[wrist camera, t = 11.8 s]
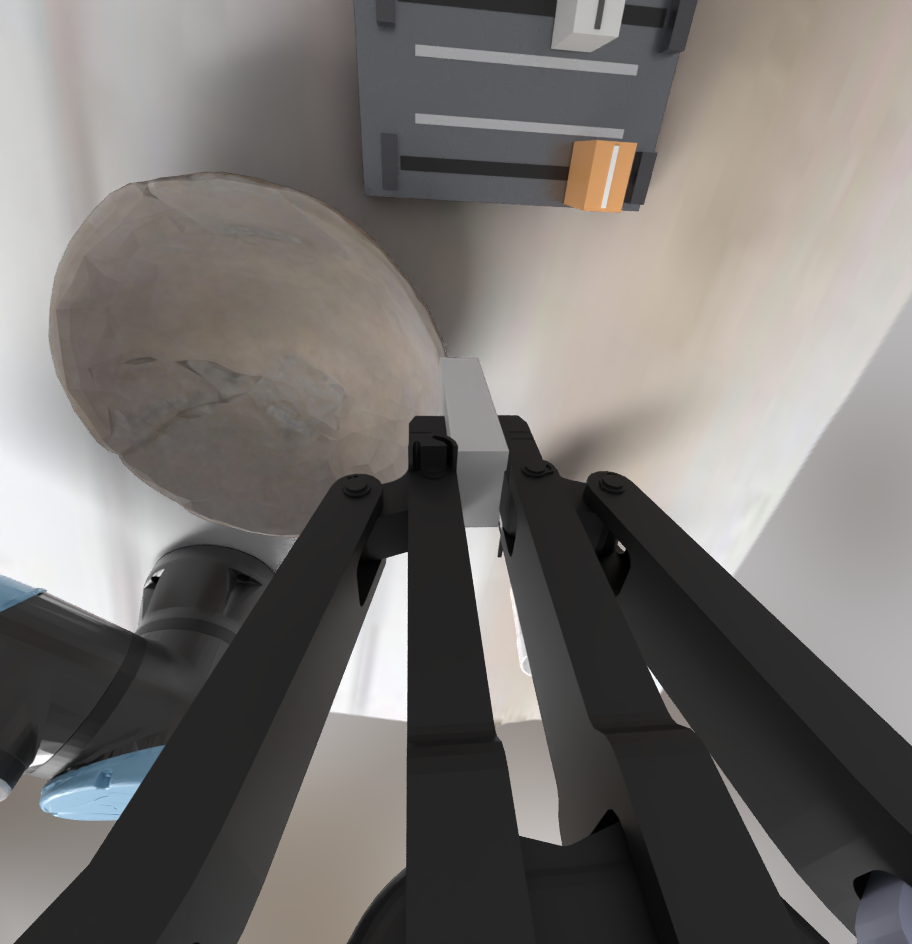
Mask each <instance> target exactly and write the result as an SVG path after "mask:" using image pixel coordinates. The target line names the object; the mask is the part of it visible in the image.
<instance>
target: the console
mask: <svg viewBox="0 0 912 944" xmlns="http://www.w3.org/2000/svg"><path fill="white" fill-rule="evenodd" d="M696 3H697V0H625V5H624V10H623V15H622V21H621V26H620V31H619V36H618V37H617V38H615V39H614V40H612V41H610V42H608V43H607V44H605V45H603V46H601V47H599V48H598V49H596V50H594V51H592V52H579V51H569V50H558V49H551V45H552V37H553V30H554V22H555V14H556V7H557V0H354V14H355V32H356V49H357V67H358V84H359V102H360V120H361V137H362V155H363V172H364V190H365V196H381V197H398V198H416V199H433V200H450V201H468V202H485V203H502V204H520V205H537V206H554V207H571V206H568V205H565V204H564V199H565V193H566V187H567V181H568V175H569V170H570V164H571V158H572V152H573V146H574V142H577V141H592V140H602V141H616V142H629V143H637V147H636V151H635V155H634V159H633V163H632V168H631V172H630V176H629V180H628V184H627V189H626V193H625V197H624V201H623V205H622V210H624V211H639V208H640V205H644V202H645V198H646V194H647V190H648V187H649V183H650V179H651V175H652V171H653V167H654V164H655V160H656V156H657V153H654V150H655V146H656V142H657V138H658V134H659V130H660V126H661V122H662V119H663V115H664V111H665V107H666V103H667V99H668V95H669V91H670V88H671V84H672V80H673V76H674V72H675V68H676V64H677V61H678V57H679V53H680V52H682V51H684V49H685V45H686V42H687V38H688V34H689V30H690V26H691V22H692V19H693V15H694V11H695V7H696ZM572 208H574V207H572Z"/></svg>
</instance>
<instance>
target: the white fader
mask: <svg viewBox="0 0 912 944" xmlns="http://www.w3.org/2000/svg"><path fill="white" fill-rule="evenodd" d="M624 5H625V0H557V7H556V14H555V22H554V30H553V37H552V45H551V49H558V50H569V51H579V52H592V51H594V50H596V49H598V48H599V47H601V46H603V45H605V44H607V43H608V42H610V41H612V40H614V39H615V38H617V37H618V36H619V31H620V26H621V21H622V15H623V10H624Z"/></svg>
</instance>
